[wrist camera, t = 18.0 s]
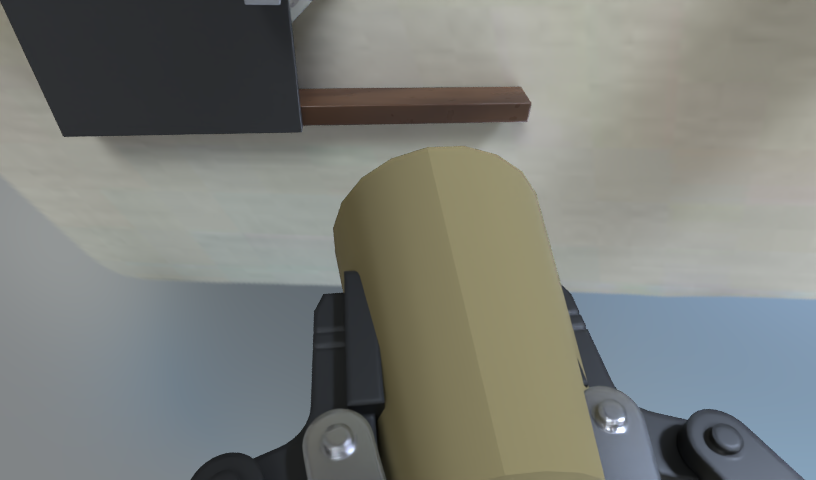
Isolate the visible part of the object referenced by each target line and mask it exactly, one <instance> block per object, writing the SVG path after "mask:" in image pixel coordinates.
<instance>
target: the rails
mask: <svg viewBox="0 0 816 480" xmlns="http://www.w3.org/2000/svg"><path fill="white" fill-rule="evenodd" d="M299 96H300V106H301V115H302V125H303V126H310V125H369V124H427V123H485V122H527V121H528V117H529V113H530V108H531V102H530V100H529V99H528V97H527V96H526V94H525V92H524V91H523V89H522V88H521V87H446V88H332V89H299Z"/></svg>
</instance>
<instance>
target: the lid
mask: <svg viewBox="0 0 816 480" xmlns="http://www.w3.org/2000/svg"><path fill="white" fill-rule="evenodd" d="M0 2H1V4H2V6H3V8H4V10H5V12H6V14H7V17H8V19H9V21H10V23H11V25H12V27H13V29H14V32H15V34H16V36H17V38H18V40H19V42H20V44H21V47H22V49H23V51H24V53H25V55H26V57H27V60H28V62H29V64H30V66H31V68H32V70H33V72H34V75H35V77H36V79H37V81H38V83H39V85H40V87H41V90H42V92H43V94H44V96H45V98H46V100H47V102H48V105H49V107H50V109H51V111H52V113H53V115H54V117H55V120H56V122H57V124H58V126H59V128H60V130H61V133H62V135H63V136H64V137H77V136H131V135H184V134H238V133H291V132H302V130H303V125H302V115H301V106H300V96H299V87H298V78H297V68H296V59H295V49H294V40H293V31H292V21H291V12H290V2H289V0H0Z"/></svg>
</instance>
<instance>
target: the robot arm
mask: <svg viewBox="0 0 816 480" xmlns="http://www.w3.org/2000/svg"><path fill="white" fill-rule="evenodd" d="M561 287H562V290H563V294H564V298H565V301H566V305H567V309H568V312H569V316H570V320H571V323H572V327H573V331H574V334H575V338H576V342H577V345H578V349H579V353H580V357H581V360H582V364H583V368H584V371H585V375H586V377H585V375H584V373H583V370H582V368H581V365H580V363H579V361H578V364H579V368H580V372H581V376H582V380H583V384H584V386H585V387H586V388H587V387H588V386H589V388H588V389H586V390H584V395H585V399H586V403H587V407H588V411H589V415H590V419H591V424H592V428H593V432H594V436H595V440H596V444H597V448H598V452H599V456H600V461H601V465H602V469H603V473H604V477H605V480H804V479H803V478H802V477H801V476H800V475H799V474H798V473H797V472H796V471H794V470H793V469H792V468H791V467H790V466H789V465H788V464H787V463H786V462H785V461H784V460H782V459H781V458H780V457H779V456H778V455H777V454H776V453H775V452H774V451H773V450H772V449H771V448H769V447H768V446H767V445H766V444H765V443H764V442H763V441H762V440H761V439H760V438H759V437H757V436H756V435H755V434H754V433H753V432H752V431H751V430H750V429H749V428H748V427H746V426H745V425H744V424H743V423H742V422H741V421H739V420H737V419H736V418H735V417H733V416H731V415H729V414H727V413H724V412H722V411H718V410H713V409H703V410H700V411H697V412H695V413H694V414H692V415H691V416H690V418H689V419H688V420H685V419H681V418H676V417H672V416H668V415H663V414H659V413H654V412H651V411H647V410H645V409H642V408H640V407H638V406H637V404H636V403H635V402H634V401H633V400H632V399H631V398H630V397H629V396H627V395H626V394H624V393H623V392H621V391H619V390H617V389H616V387H615V386H614V384H613V382H612V381H611V378H610V376H609V374H608V372H607V370H606V368H605V366H604V363H603V361H602V359H601V357H600V355H599V353H598V351H597V349H596V346H595V344H594V342H593V340H592V338H591V336H590V333H589V331H588V330H587V329H586V325H585V323H584V321H583V319H582V316H581V315H579V310H578V308H577V306H576V304H575V301H574V299H573V297H572V295H571V294H570V293H569V292H568V291H567V290H566V289H565V288H564V287H563V286H562V285H561ZM577 359H578V358H577ZM586 379H587V380H586ZM384 409H385V402H384V390H383V378H382V366H381V354H380V347H379V343H378V339H377V336H376V332H375V329H374V325H373V321H372V318H371V314H370V311H369V307H368V303H367V300H366V296H365V293H364V289H363V285H362V282H361V278H360V275H359V273H358V272H356V271H344V293H333V294H323V296H322V298H321V300H320V302H319V303H318V305H317V307H316V309H315V311H314V335H313V361H312V390H311V410H310V415H309V418H308V420H307V423H306V425H305V426H304V428H303V429H302V430H301V432H300V433H299V434H298V435H297V436H296V437H295V438H294V439H293V440H291V441H290V442H288V443H287V444H285V445H283V446H281V447H279V448H277V449H274V450H272V451H270V452H267V453H265V454H263V455H260V456H258V457H256V458H254V459H253V458H251V457H250V456H248V455H245V454H242V453H225V454H222V455H219V456H217V457H214V458H212V459H211V460H209V461H208V462H206V463H205V464H204V465H203V466H201V467H200V468H199V469H198V471H197V472H196V473H195V474H194V476H193V477H192V479H191V480H386V477H385V473H384V470H383V466H382V463H381V459H380V456H379V452H378V449H377V434H376V422H377V420H378V419H379V417H380V415H381V414H382V412H383V410H384Z"/></svg>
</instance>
